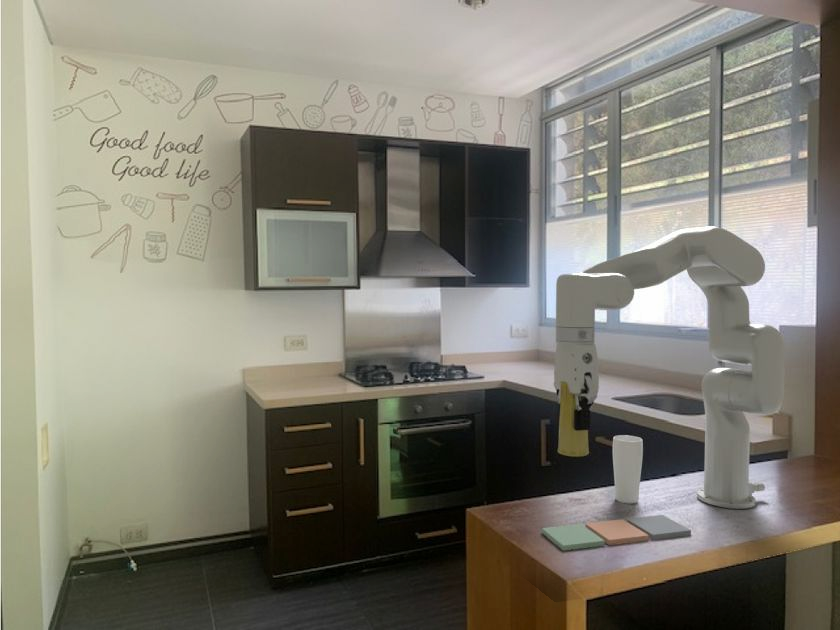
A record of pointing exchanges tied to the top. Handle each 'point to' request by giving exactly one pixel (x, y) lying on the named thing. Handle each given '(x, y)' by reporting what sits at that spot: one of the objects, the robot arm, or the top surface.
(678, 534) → the grey coaster
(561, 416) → the vase
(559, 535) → the green coaster
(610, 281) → the robot arm
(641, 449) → the drinking glass
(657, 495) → the top surface
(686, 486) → the top surface
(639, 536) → the terracotta coaster
